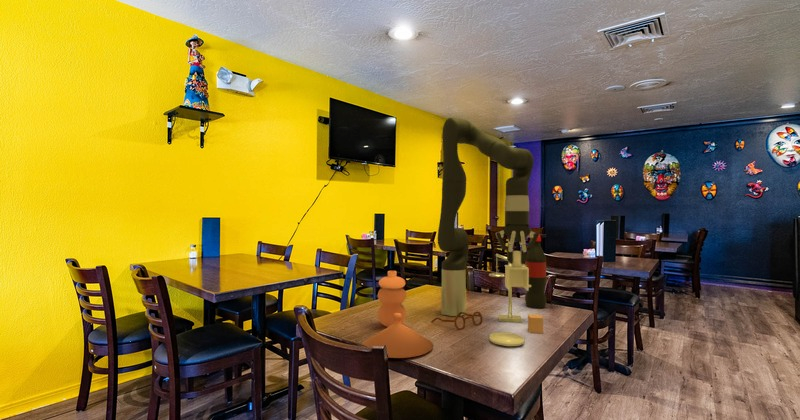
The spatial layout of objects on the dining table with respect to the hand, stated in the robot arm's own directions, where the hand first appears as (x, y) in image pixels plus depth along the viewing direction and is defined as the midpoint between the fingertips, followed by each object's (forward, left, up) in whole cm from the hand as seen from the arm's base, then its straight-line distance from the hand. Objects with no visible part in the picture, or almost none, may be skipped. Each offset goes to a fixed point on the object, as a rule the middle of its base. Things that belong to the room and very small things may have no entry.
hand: (516, 263), depth 122 cm
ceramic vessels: (-38, -8, -23) cm, 46 cm away
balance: (0, +17, -23) cm, 29 cm away
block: (+7, +5, -23) cm, 25 cm away
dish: (-4, -8, -23) cm, 25 cm away
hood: (0, 0, -8) cm, 8 cm away
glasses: (-19, +10, -24) cm, 32 cm away
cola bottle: (+14, +39, -23) cm, 47 cm away
